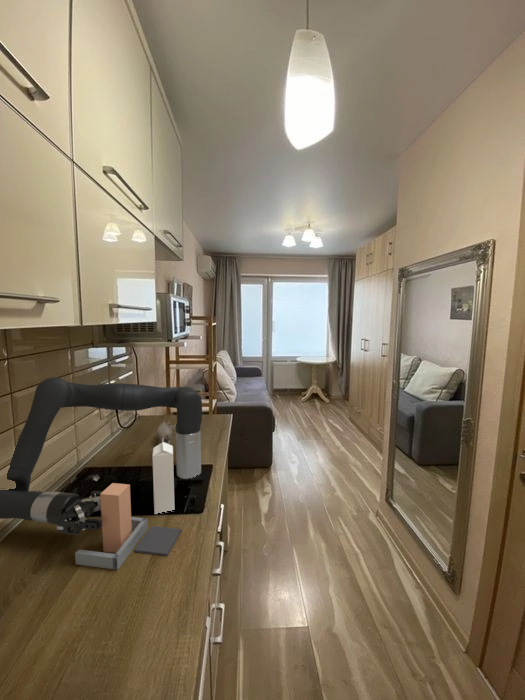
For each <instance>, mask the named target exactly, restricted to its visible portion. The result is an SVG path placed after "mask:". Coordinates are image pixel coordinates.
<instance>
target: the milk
mask: <svg viewBox="0 0 525 700" xmlns="http://www.w3.org/2000/svg"><path fill="white" fill-rule="evenodd" d="M167 443H168V442H162V443H160V444H159V443H158V445H156V446H155V447H152V478H153V484H152V485H153V507H154V509H153V511H154V515H158V513H160V514H163V513H162V512H165V513H168V512H167V511H171V512H173V511H172V510H175V509H176V508H175V479H174V477H175V476H174V469H175V468H174V446H173V445H172V444H170V445H169V444H167Z"/></svg>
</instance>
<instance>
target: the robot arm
mask: <svg viewBox="0 0 525 700" xmlns="http://www.w3.org/2000/svg"><path fill="white" fill-rule="evenodd" d="M76 407H88V408H95V409H102V410H111V411H123V412H124V411H126V412H127V411H128V412H129V411H130V412H132V411H135V412H136V411H142V410H147V409H152V408H158V407H161V408H163V407H164V408H172V409H176V423H175V424H176V426H175V454H176V455H175V457H176V460H175V461H176V462H175V463H176V476H177V477H178V478H180V479H184V480H189V478H190V479H194V478H196V476H197V475H198V476H200V475H201V473H202V451H201V450H202V448H201V447H202V446H201V445H202V441H201V439H202V437H201V435H202V434H201V432H202V431H201V426H202V423H203V401H202V397H201V395H200V393H198V392H197V391H196V390H195V389H194V388H192V387H189V386H176V387H175V386H174V387H173V386H171V387H166V386H165V387H164V386H163V387H160V386H155V385H154V386H152V385H145V384H136V383H121V382H119V383H112V382H111V383H102V384H101V383H99V384H85V383H75V382H69V381H66V380H65V379H63V378H60V377H49V378H45V379H44V380H42V381H41V382H40V383H39V384H38V385H37V386H36V388H35V392H34V396H33V400H32V403H31V407H30V410H29V413H28V416H27V418H26V421H25V424H24V425H23V428H22V430H21V432H20V434H19V436H18V438H19V439H18V438H17V440H18V442H17V441H16V442H17V445H16V448H15V451H14V454H13V457H12V460H11V463H10V468H9V470H8V473H7V479H6V480H8V481H9V480H12V481H15V483H16V488H15V489H9V490H0V520H1V519H3V520H5V519H8V520H9V519H19V520H25V521H33V522H34V521H35V522H38V523H43V524H49V525H56V532H57V533H60V534H66V535H72V536H77V535H79V534H80V532H81V531H85V530H101V529H102V519H98V518H89V517H90V516H91V515H92V514H94V512H99V511H101V499H100V494H101V493H102V492H103V491H104V490H103V491H101V490H99V491H98V490H93V491H91V492H90V496H88V497H82V496H80V495H79V494H77V493H72V492H61V491H60V492H58V491H40V490H31V491H30V485H31V480H32V479H31V478H32V473H33V472H34V469H35V467H36V464H37V462H38V460H39V459H40V456H41V454H42V450H43V448H44V446H45V442H46V439H47V437H48V432H49V431H50V430H49V429H50V428H51V425H52V423H53V422H54V420H55V417H56V416H57V414H58V412H59V411H60V410H61V409H62V408H76ZM198 476H197V477H198ZM193 477H194V478H193ZM95 503H97V506H96V504H95Z"/></svg>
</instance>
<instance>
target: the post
mask: <svg viewBox="0 0 525 700" xmlns="http://www.w3.org/2000/svg"><path fill="white" fill-rule="evenodd" d="M100 499H101V510H100V512H101V513H100V516H101V520H102V527H101V530H102V545H103V546H102V549H103V553H111V554H116V553H117V552H118V550H119V549H120V548H121V546H122V545H123V544H124V543H125V541H126V540H127V539H128V537H129V536H130V535H131V534H132V532H133V530H132V522H131V517H132V503H131V484H126V483H118V482H117V483H115V482H112V483H111V484H110V485H109V486H107V487H106V488H105V489H104V490H103V492H102V493H101V494H100Z"/></svg>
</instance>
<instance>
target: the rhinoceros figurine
mask: <svg viewBox="0 0 525 700" xmlns="http://www.w3.org/2000/svg"><path fill="white" fill-rule="evenodd" d="M175 430H176V423H175V424H174V425H173V424H171V421H168V422H166V421H164V422H161V424H160V425H159V426H158V427H157V431H156V433H155V434H156V438H158V442H157V443H158V445H159V444H160V443H162V442H165V443H167V444H169V445H171V442H172V441H173V434H174V433H173V431H175Z"/></svg>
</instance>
